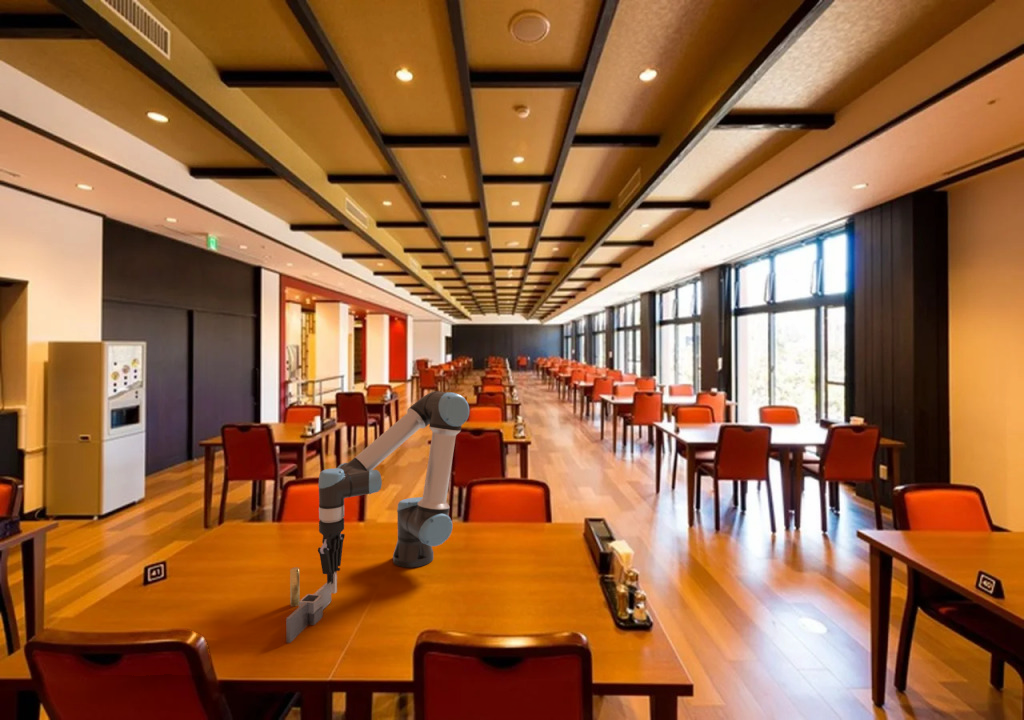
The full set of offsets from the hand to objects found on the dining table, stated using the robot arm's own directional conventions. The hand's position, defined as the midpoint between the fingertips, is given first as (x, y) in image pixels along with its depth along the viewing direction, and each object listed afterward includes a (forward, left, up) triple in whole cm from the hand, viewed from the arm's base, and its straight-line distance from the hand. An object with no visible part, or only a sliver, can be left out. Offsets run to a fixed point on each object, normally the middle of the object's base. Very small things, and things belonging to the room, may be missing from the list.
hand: (331, 592), depth 155 cm
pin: (+5, -10, -2) cm, 11 cm away
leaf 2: (+17, 0, -2) cm, 17 cm away
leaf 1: (+9, 0, -2) cm, 9 cm away
